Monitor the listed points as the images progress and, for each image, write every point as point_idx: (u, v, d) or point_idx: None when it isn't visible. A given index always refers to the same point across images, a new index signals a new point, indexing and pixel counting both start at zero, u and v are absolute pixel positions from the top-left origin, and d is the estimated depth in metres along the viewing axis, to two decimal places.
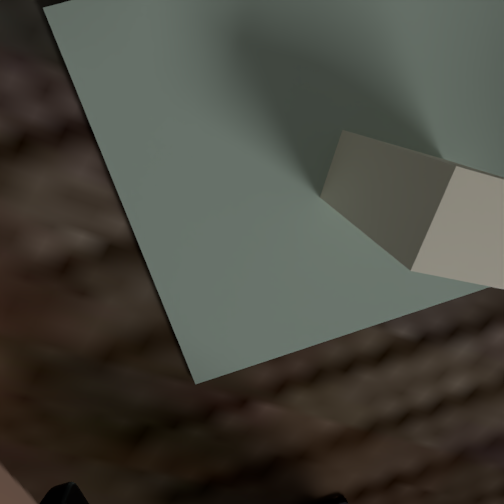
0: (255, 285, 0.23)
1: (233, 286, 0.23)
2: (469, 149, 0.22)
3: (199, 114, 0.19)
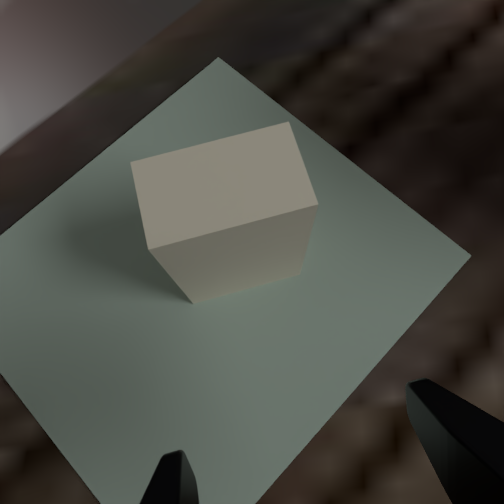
0: (179, 421, 0.21)
1: (156, 433, 0.21)
2: None
3: (61, 295, 0.23)
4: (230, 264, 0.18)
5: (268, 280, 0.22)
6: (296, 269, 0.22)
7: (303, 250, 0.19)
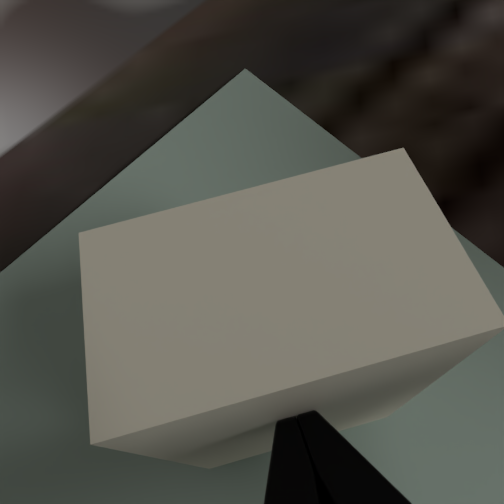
0: None
1: None
2: None
3: (2, 448, 0.15)
4: None
5: None
6: (386, 413, 0.13)
7: (414, 393, 0.10)
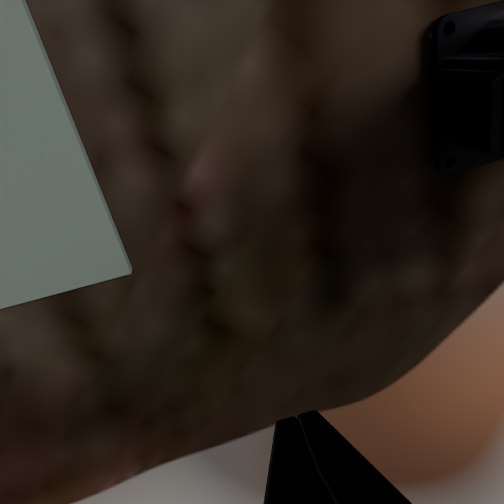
0: None
1: None
2: None
3: None
4: None
5: None
6: None
7: None
